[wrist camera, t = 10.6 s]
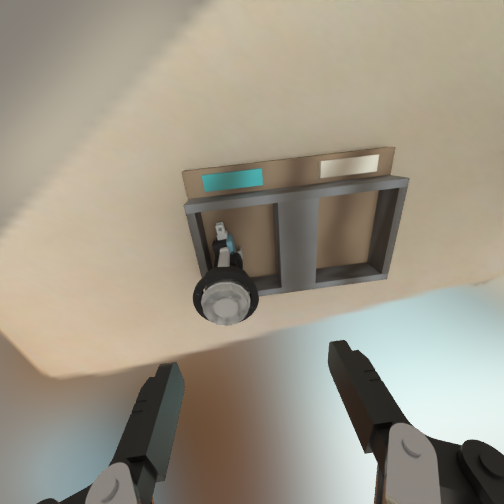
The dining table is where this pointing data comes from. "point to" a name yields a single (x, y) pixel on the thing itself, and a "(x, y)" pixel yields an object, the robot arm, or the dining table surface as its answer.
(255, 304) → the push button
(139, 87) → the dining table surface
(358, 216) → the dock
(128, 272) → the dining table surface
